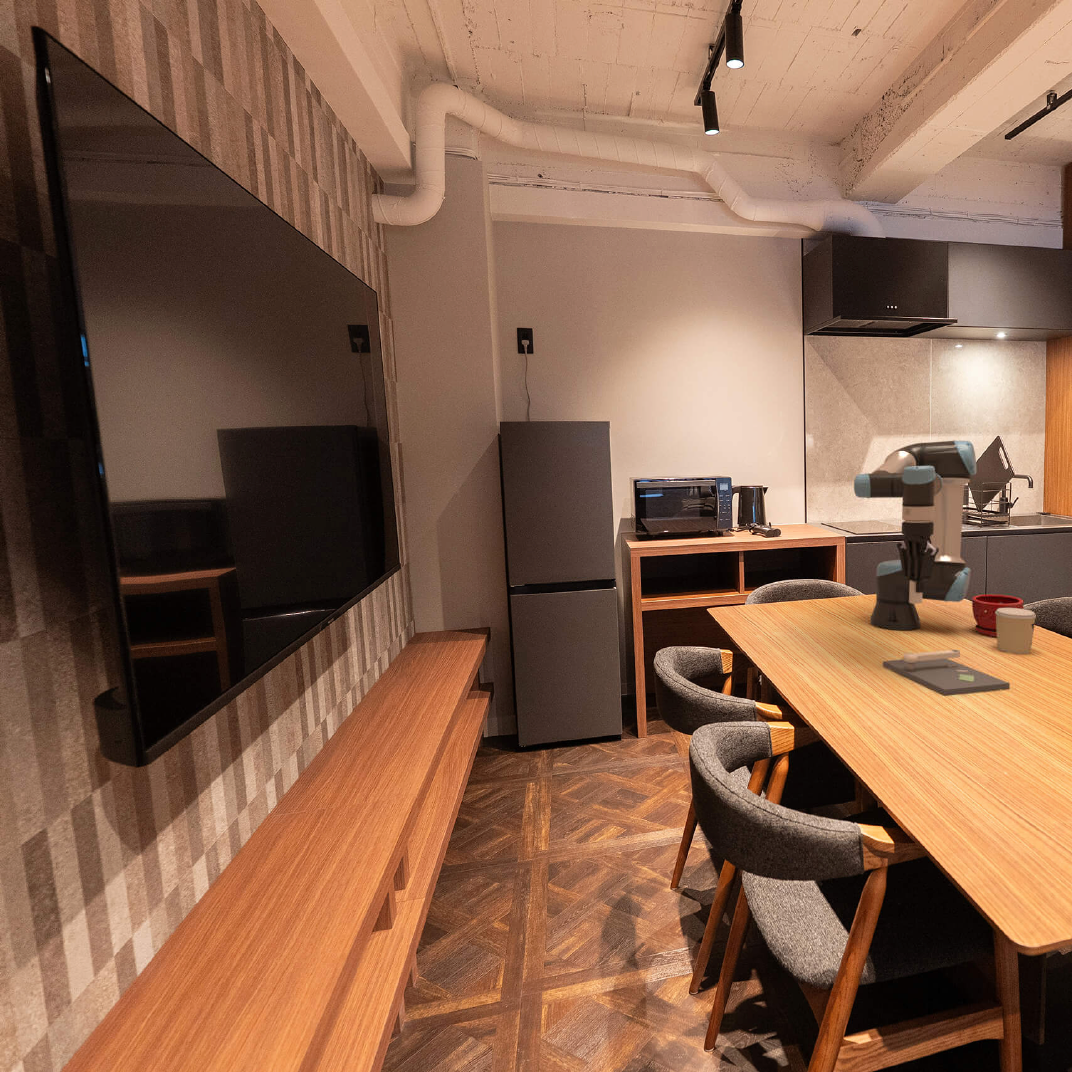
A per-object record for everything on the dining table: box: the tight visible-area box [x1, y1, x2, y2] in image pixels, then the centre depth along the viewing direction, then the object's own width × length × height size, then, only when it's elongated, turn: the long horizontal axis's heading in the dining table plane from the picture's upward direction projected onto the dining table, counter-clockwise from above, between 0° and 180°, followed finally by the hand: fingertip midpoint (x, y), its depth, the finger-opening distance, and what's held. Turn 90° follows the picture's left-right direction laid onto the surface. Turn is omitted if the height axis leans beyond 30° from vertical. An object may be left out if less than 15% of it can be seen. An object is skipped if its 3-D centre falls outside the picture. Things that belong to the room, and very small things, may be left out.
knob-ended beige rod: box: [903, 649, 961, 663], centre depth 158 cm, size 16×3×2 cm, turn 96°
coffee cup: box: [995, 608, 1037, 655], centre depth 173 cm, size 9×9×12 cm
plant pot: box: [971, 594, 1024, 638], centre depth 188 cm, size 13×13×12 cm
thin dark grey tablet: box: [882, 658, 1011, 696], centre depth 156 cm, size 22×18×4 cm
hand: (915, 602), depth 164 cm, fingers closed
